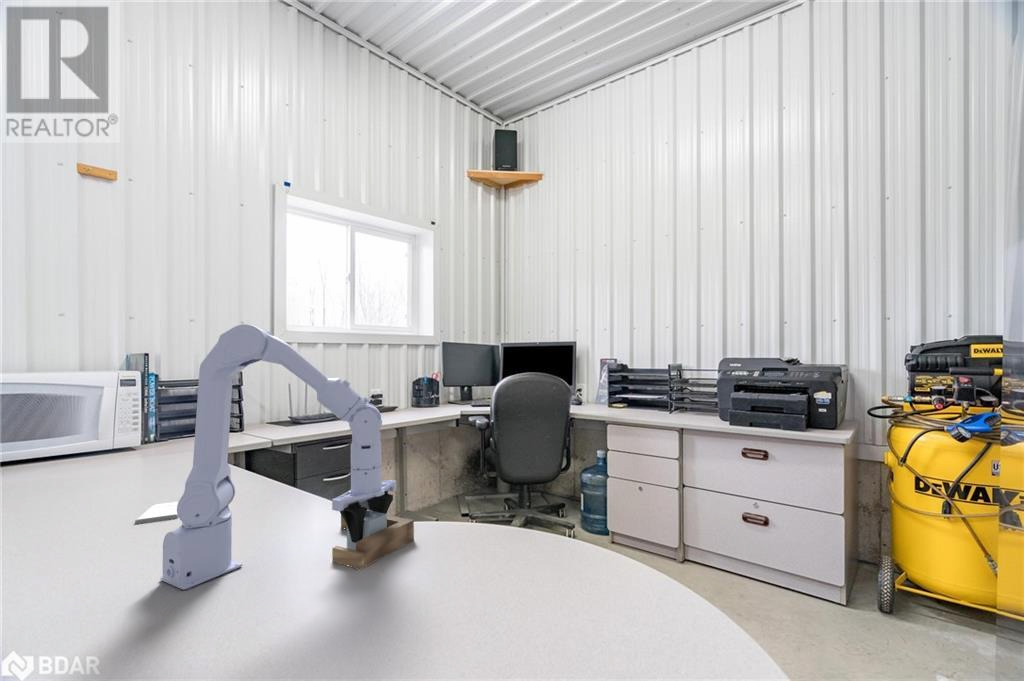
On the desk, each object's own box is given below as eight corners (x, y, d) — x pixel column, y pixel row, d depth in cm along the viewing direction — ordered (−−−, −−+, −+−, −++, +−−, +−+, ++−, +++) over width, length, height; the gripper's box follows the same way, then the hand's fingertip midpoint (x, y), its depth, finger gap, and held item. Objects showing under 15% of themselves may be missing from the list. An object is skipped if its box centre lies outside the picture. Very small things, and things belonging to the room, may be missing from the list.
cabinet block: (369, 554, 83) (369, 516, 83) (346, 548, 85) (346, 511, 86) (387, 545, 86) (386, 508, 87) (365, 539, 89) (364, 504, 90)
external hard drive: (134, 527, 103) (152, 510, 114) (177, 520, 106) (190, 505, 117) (134, 519, 103) (152, 504, 114) (177, 513, 106) (190, 499, 118)
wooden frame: (359, 569, 77) (359, 546, 78) (290, 549, 86) (290, 528, 87) (413, 540, 90) (413, 520, 90) (348, 525, 99) (348, 507, 99)
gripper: (351, 477, 78) (351, 556, 78) (407, 460, 91) (408, 527, 90) (324, 473, 82) (324, 548, 81) (382, 457, 94) (382, 522, 94)
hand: (366, 537), depth 86 cm, fingers closed on cabinet block, 4 cm apart
